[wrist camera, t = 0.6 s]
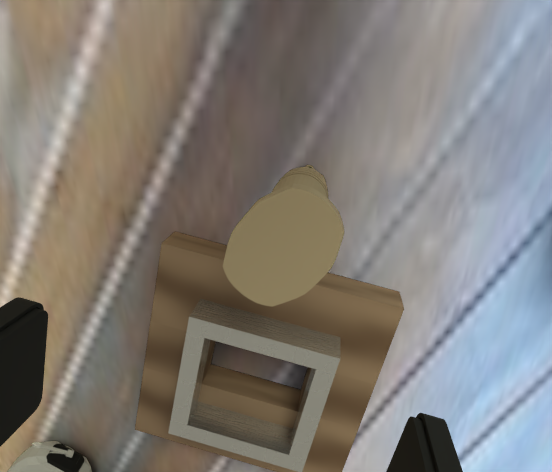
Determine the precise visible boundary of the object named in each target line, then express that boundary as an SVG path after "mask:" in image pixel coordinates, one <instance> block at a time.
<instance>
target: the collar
mask: <svg viewBox="0 0 552 472" xmlns="http://www.w3.org/2000/svg"><path fill="white" fill-rule="evenodd" d="M210 340H214V341H217V342H221V343H224V344H228V345H231V346H235V347H238V348H242V349H246V350H249V351H253V352H256V353H260V354H263V355H267V356H270V357H274V358H277V359H281V360H285V361H288V362H292V363H295V364H299V365H302V366H306V367H309V368H312V369H311V372H310V375H309V378H308V381H307V385H306V388H305V391H304V394H303V397H302V401H301V404H300V407H299V410H298V413H297V417H296V420H295V423H294V426H293V429H292V428H288V427H285V426H281V425H278V424H275V423H271V422H268V421H264V420H261V419H257V418H254V417H251V416H247V415H244V414H240V413H237V412H233V411H230V410H226V409H223V408H220V407H216V406H213V405H209V404H206V403H202V402H199V401H198V399H199V394H200V389H201V384H202V379H203V375H204V370H205V365H206V360H207V355H208V350H209V345H210ZM339 361H340V337H337V336H334V335H330V334H326V333H323V332H319V331H316V330H312V329H308V328H305V327H301V326H297V325H294V324H290V323H287V322H283V321H279V320H276V319H272V318H269V317H265V316H261V315H258V314H254V313H251V312H247V311H243V310H240V309H236V308H233V307H229V306H225V305H222V304H218V303H214V302H211V301H207V300H204V299H200V301H199V302H198V304H197V305H196V307H195V309H194V310H193V312H192V313H191V315H190V316H189V321H188V326H187V332H186V337H185V343H184V348H183V354H182V359H181V365H180V371H179V376H178V382H177V387H176V393H175V398H174V404H173V409H172V415H171V421H170V426H169V432H168V433H169V434H172V435H176V436H179V437H182V438H186V439H189V440H192V441H196V442H199V443H203V444H206V445H209V446H213V447H216V448H219V449H223V450H226V451H230V452H233V453H236V454H240V455H243V456H246V457H250V458H253V459H257V460H260V461H263V462H267V463H270V464H273V465H277V466H280V467H284V468H287V469H290V470H294V471H297V472H302V471H303V468H304V465H305V462H306V459H307V456H308V453H309V450H310V447H311V444H312V441H313V439H314V436H315V433H316V430H317V427H318V424H319V421H320V418H321V415H322V412H323V409H324V406H325V403H326V400H327V397H328V394H329V391H330V388H331V385H332V382H333V379H334V376H335V373H336V370H337V367H338V364H339Z"/></svg>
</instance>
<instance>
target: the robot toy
mask: <svg viewBox="0 0 552 472" xmlns="http://www.w3.org/2000/svg"><path fill="white" fill-rule="evenodd" d="M32 445H33V446H31V447H30V448H28V449H27V450H26V451H25V452H23V453H22V454H21V455H20V456H19V457H18V458H17V459H16V461H15V462H14V463H13V465H12V466H11V467H10V469H9V470H8V471H7V472H92V470H91V466H90V464H89V462H88V460H87V459H86V457H84V456H83V455H81V454H79V453H78V452H76V451H74V450H73V449H72V448H70V447H68V446H65V445H63V444H61V443H59V442H58V441H49V442H41V443H39V442H35V443H32Z"/></svg>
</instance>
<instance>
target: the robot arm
mask: <svg viewBox="0 0 552 472" xmlns="http://www.w3.org/2000/svg"><path fill="white" fill-rule="evenodd" d="M47 324H48V313H47V312H46V311H44V308H43V305H42V304H40V303H37V302H34V301H30V300H27V299H23V298H15V299H13V300H12V301H10V302H8V303H7V304H5V305H4V306H2V307H0V446H1V445H2V444H3V443H4V442H5V441H6V440H7V439H8V438H9V437H10V436H11V435H12V434H13V433H14V432H15V431H16V430H17V429H18V428H19V427H20V426H21V425H22V424H23V423H24V422H25V421H26V420H27V419H28V418H29V417H30V416H31V415H32V414H33V413H34V412H35V410H36V409H37V407H38V406H39V404H40V402H41V399H42V391H43V378H44V364H45V351H46V338H47ZM387 472H463V471H462V468H461V465H460V462H459V459H458V456H457V453H456V450H455V447H454V444H453V442H452V439H451V436H450V433H449V430H448V427H447V424H446V422H445V420H443V419H441V418H437V417H434V416H430V415H427V414H423V413H419V414H418V415H417V417H416V418H415V417H410V418H409V419H408V421H407V423H406V426H405V428H404V431H403V433H402V435H401V438H400V440H399V443H398V445H397V448H396V450H395V452H394V455H393V457H392V460H391V462H390V464H389V467H388V469H387Z"/></svg>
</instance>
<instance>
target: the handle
mask: <svg viewBox="0 0 552 472" xmlns="http://www.w3.org/2000/svg"><path fill="white" fill-rule="evenodd" d="M343 235H344V226H343V222H342V219H341V216H340V214H339V212H338V210H337V209H336V207H335V206H334V205H333V204H332V203H331V201H330V200H329V199H328V189H327V185H326V181H325V178H324V176H323V175H322V174H320V173H318V172H317V171H316V170H315V169H314V168H313V166H311V165H306V166H305V167H299V168H295V169H292V170H290V171H289V172H288V173H286V174H285V175H284V176H283V177H282V178H281V179H280V180H279V182H278V183H277V184H276V186H275V187H274V189H273V191H272V193H270V194H268V195H266V196H264V197H262V198H260V199H259V200H258V201H257V202H256V203H255V204H254V205H253V206H252V207H251V208H250V210H249V211H248V212H247V213H246V214H245V216H244V217H243V218H242V219H241V220H240V222H239V223H238V224H237V225H236V227H235V228H234V230H233V232H232V233H231V236H230V239H229V241H228V245H227V249H226V253H225V258H224V263H223V269H224V271H225V274H226V276H227V278H228V280H229V281H230V282H231V284H232V285H233V286H234V287H235V288H236V289H237V290H238V291H239V292H240V293H241V294H243V295H244V296H245V297H247V298H248V299H250V300H252V301H254V302H256V303H258V304H262V305H265V306H271V307H273V306H276V305H279V304H282V303H285V302H288V301H290V300H293V299H296V298H298V297H300V296H302V295H304V294H306V293H307V292H308V291H309V290H311V289H312V288H313V287H314V286H315V285H316V284H317V283H318V282H319V281H320V280H321V279H322V278H323V277H324V276H325V275H326V274H327V272H328V271H329V270H330V269H331V268H332V266H333V264H334V262H335V260H336V257H337V254H338V251H339V248H340V245H341V242H342V239H343Z"/></svg>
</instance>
